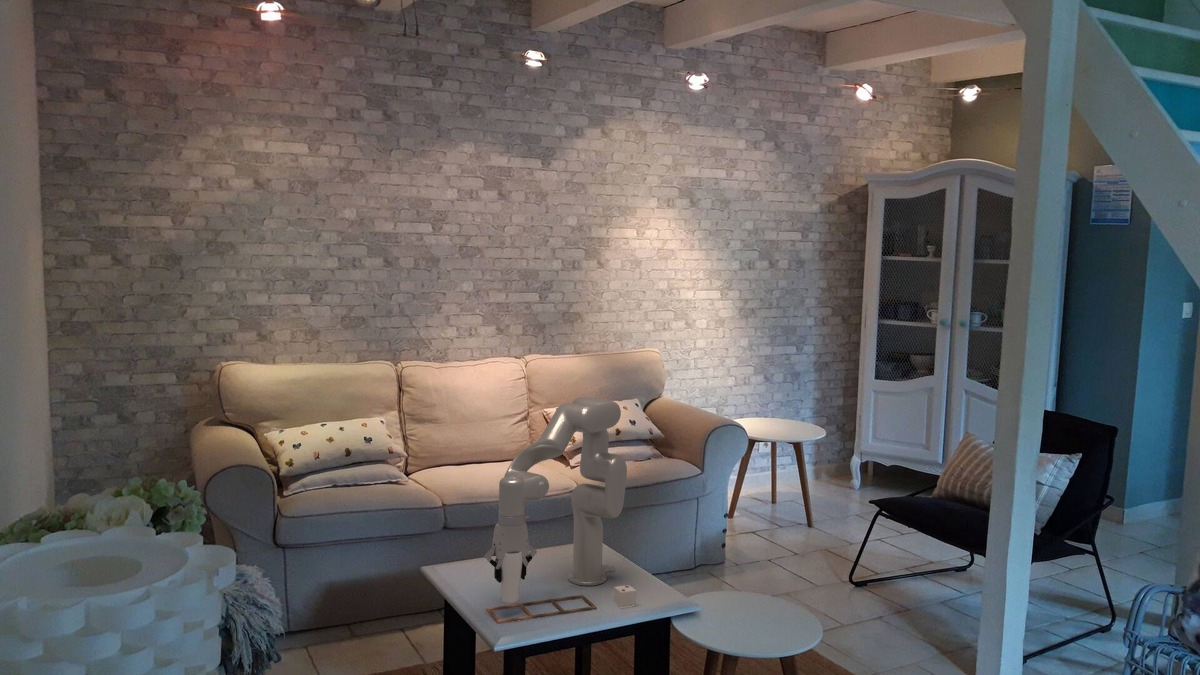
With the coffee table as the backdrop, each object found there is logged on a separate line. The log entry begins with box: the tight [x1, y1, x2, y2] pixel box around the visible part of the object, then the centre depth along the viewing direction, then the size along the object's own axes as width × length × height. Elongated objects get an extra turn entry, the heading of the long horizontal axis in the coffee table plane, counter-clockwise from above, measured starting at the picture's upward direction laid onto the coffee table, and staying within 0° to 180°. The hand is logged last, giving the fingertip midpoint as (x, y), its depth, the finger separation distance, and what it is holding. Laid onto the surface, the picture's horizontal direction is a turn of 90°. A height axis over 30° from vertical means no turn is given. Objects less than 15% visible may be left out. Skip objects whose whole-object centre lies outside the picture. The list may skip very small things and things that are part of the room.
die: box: [613, 584, 637, 608], centre depth 276 cm, size 5×5×5 cm
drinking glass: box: [499, 552, 522, 604], centre depth 266 cm, size 7×7×15 cm
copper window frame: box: [485, 594, 598, 624], centre depth 271 cm, size 31×11×1 cm, turn 114°
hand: (510, 579), depth 266 cm, fingers closed on drinking glass, 6 cm apart
